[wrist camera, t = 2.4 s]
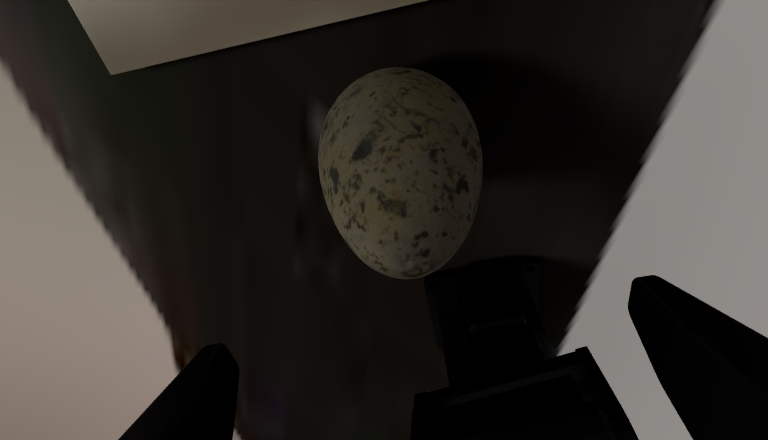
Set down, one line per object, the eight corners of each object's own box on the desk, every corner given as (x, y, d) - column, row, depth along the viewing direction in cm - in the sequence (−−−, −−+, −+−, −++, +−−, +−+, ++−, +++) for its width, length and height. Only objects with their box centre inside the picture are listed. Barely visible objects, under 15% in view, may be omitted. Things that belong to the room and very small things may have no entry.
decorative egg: (478, 61, 18) (567, 180, 10) (440, 182, 21) (482, 346, 13) (337, 32, 17) (305, 136, 9) (321, 162, 20) (287, 324, 12)
